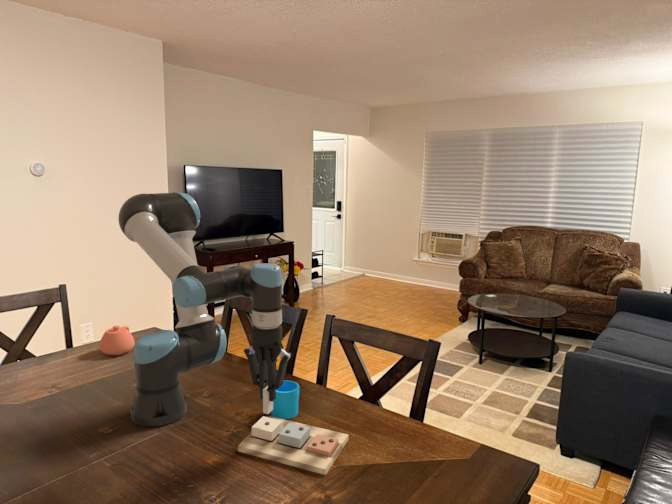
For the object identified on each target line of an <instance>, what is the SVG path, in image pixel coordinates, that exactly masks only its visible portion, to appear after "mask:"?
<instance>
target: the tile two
mask: <svg viewBox="0 0 672 504" xmlns="http://www.w3.org/2000/svg"><path fill="white" fill-rule="evenodd" d="M278 436H279V443H281V445H284V446H288V447H292V448H296V449H302V447H303V446H304V445H305V444H306V443H307V439H308V438H309V437H310V427H307V426H303V425H298V424H294V423H290V422H289V423H288V425H287V426H286V427H285V428H284V429H283V430H282V431H281V432H280V433H279V434H278Z"/></svg>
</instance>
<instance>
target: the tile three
mask: <svg viewBox="0 0 672 504" xmlns="http://www.w3.org/2000/svg"><path fill="white" fill-rule="evenodd" d="M337 447H338V439H335V438H331V437H327V436H323V435H319V434H317V435H316V436H315V437H314V439H313V440H312V441H311V442H310V444H309V445H308V446H307V452H311V453H315V454H319V455H322V456H326V457H331V456H332V454H333V453H334V451H335V450H336V448H337Z"/></svg>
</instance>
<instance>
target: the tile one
mask: <svg viewBox="0 0 672 504" xmlns="http://www.w3.org/2000/svg"><path fill="white" fill-rule="evenodd" d="M282 430H283V421H282V420H277V419H273V418H269V417H268V416H264V415H263V416H261V418H259V420H257V422H255V423H254V424H253V425H252V426H251V433H252V436H254V437H255V438H257V439H261V440H265V441H269V442H273V441H274V440H275V439H276V438H277V437H278V436H279V433H280V432H281V431H282Z"/></svg>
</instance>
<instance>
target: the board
mask: <svg viewBox="0 0 672 504" xmlns="http://www.w3.org/2000/svg"><path fill="white" fill-rule="evenodd" d="M267 417H269V418H273V419H277V420H282V421H283V429H284V428H285V427H286V426H287V425H288V423H289V422H290V423H294V424H298V425H303V426H307V427H310V437H309V438H308V439H307V440H306V442H305V443H304V444H303V445H302V447H301V448H296V447H292V446H288V445H284V444H281V443H279V435H277V436H276V437H275V438H274V439H273V440H272V441H269V440H265V439H261V438H257V437H254V436H252V432H250V433H249V435H248V436H246V437H245V438H244V439H243V440H242V441H241V442H240V443H239V444H238V445H237V452H239V453H243V454H247V455H251V456H253V457H257V458H260V459H264V460H268V461H272V462H276V463H279V464H283V465H287V466H290V467H295V468H297V469H298V468H299V469H301V470H304V471H309V472H313V473H317V474H319V475H324V476H326V475H327V474H328V472H329V470H330V469H331V467H332V466H333V464H334V463H335V461H336V460H337V459H338V456H339V455H340V454H341V452H342V451H343V449H344V448H345V446H346V444H347V442H348V441H349V435H350V434H347V433H343V432H339V431H336V430H331V429H327V428H322V427H318V426H314V425H310V424H305V423H302V422H301V423H300V422H297V421H292V420H290V419H280V418H276V417H273V416H272V415H268V416H267ZM317 434H319V435H323V436H327V437H331V438H335V439H338V447H337V448H336V450H335V451H334V453H333V454H332V456H331V457H326V456H322V455H319V454H315V453H311V452H307V446H308V445H309V444H310V442H311V441H312V440H313V439H314V437H315V436H316V435H317Z"/></svg>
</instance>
